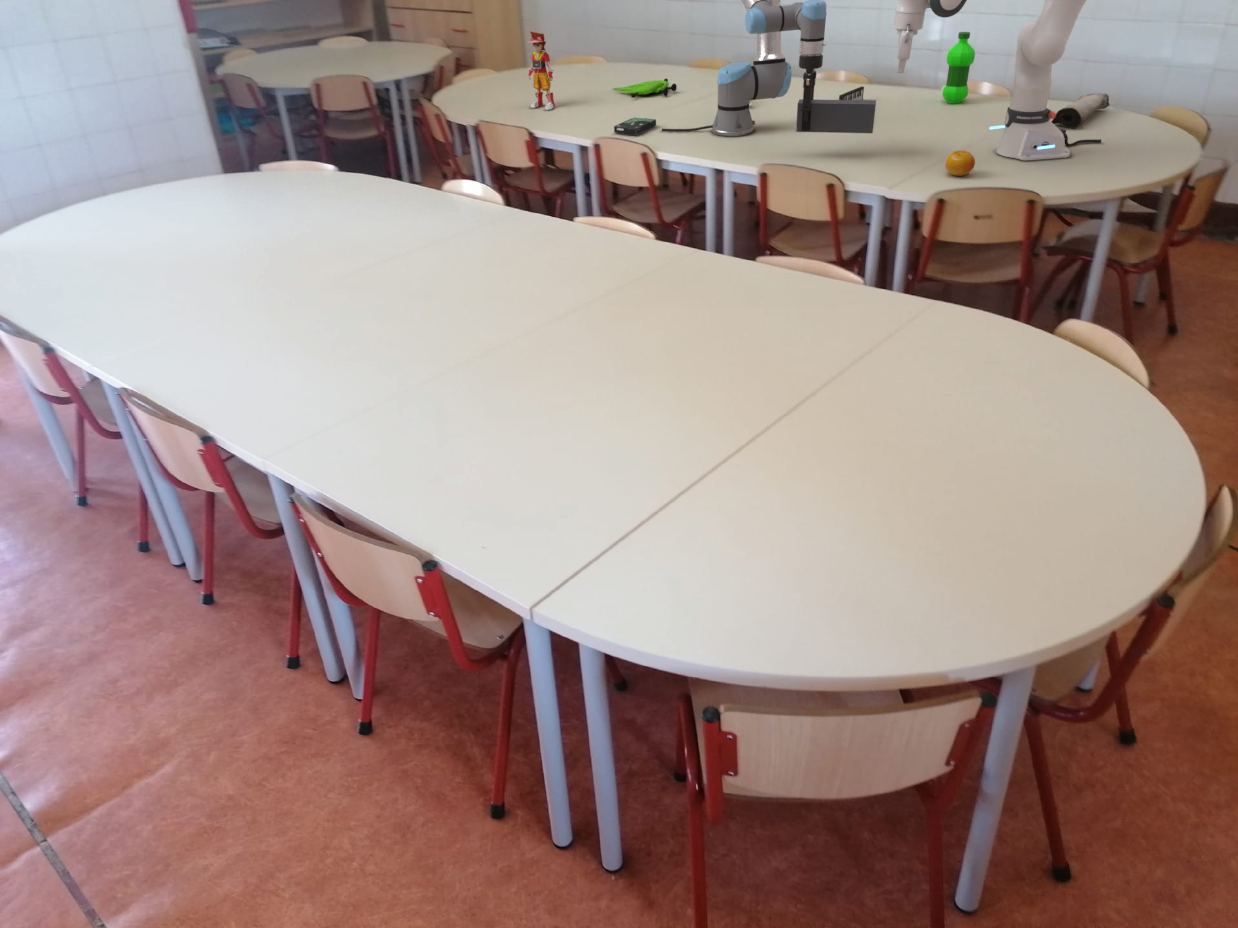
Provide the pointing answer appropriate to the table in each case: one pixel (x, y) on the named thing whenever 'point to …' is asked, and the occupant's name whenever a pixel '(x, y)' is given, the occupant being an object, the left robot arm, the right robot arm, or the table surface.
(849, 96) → the midi keyboard
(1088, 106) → the rolled mat
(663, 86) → the toy
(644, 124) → the disk drive
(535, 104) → the toy
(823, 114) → the bar
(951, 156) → the fruit
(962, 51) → the plastic bottle
